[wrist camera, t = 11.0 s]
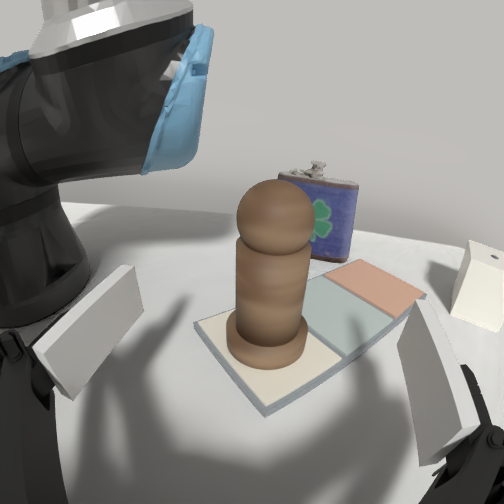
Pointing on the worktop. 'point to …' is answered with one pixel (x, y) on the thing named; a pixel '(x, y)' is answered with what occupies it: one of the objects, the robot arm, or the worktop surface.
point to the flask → (327, 211)
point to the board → (321, 332)
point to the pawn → (271, 275)
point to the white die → (480, 287)
